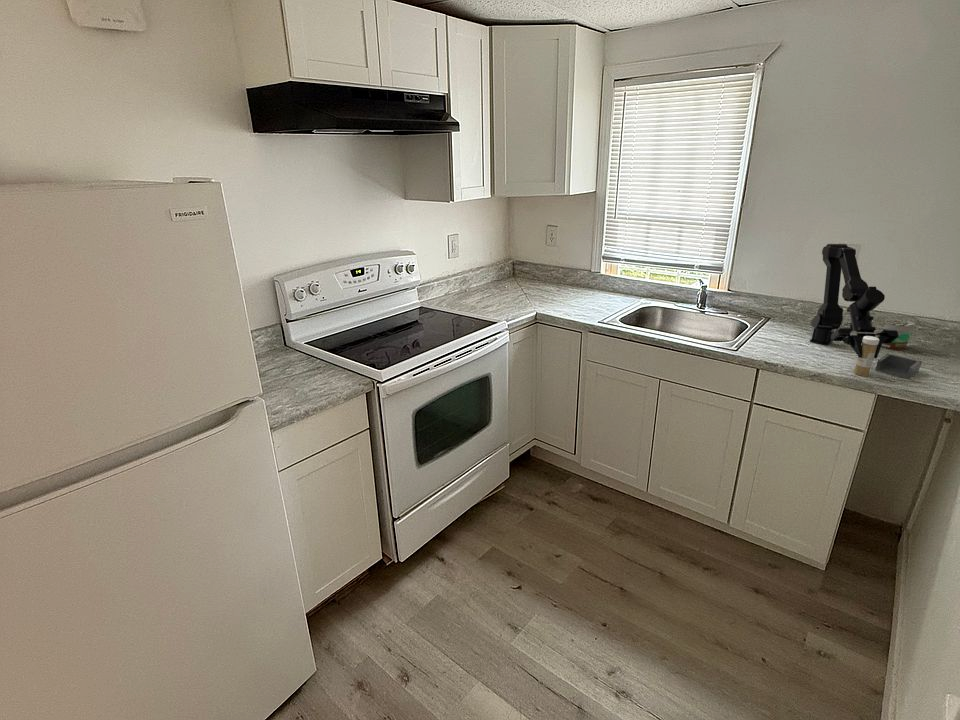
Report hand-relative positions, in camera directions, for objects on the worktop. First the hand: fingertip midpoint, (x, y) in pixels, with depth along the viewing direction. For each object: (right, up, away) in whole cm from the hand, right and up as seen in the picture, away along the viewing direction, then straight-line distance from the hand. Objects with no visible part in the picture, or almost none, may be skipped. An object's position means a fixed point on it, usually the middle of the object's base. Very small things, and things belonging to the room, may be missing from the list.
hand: (868, 357), depth 176 cm
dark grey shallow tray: (+14, -5, +5) cm, 16 cm away
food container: (+31, +4, +26) cm, 41 cm away
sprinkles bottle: (0, -6, +4) cm, 7 cm away
